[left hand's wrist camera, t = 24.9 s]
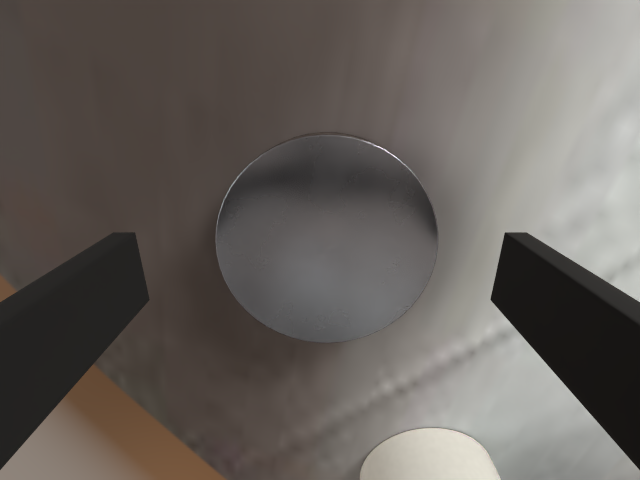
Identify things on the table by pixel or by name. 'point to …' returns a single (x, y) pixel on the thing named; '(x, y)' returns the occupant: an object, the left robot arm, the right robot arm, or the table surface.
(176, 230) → the table surface
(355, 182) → the lid
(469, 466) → the jar
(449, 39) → the table surface
